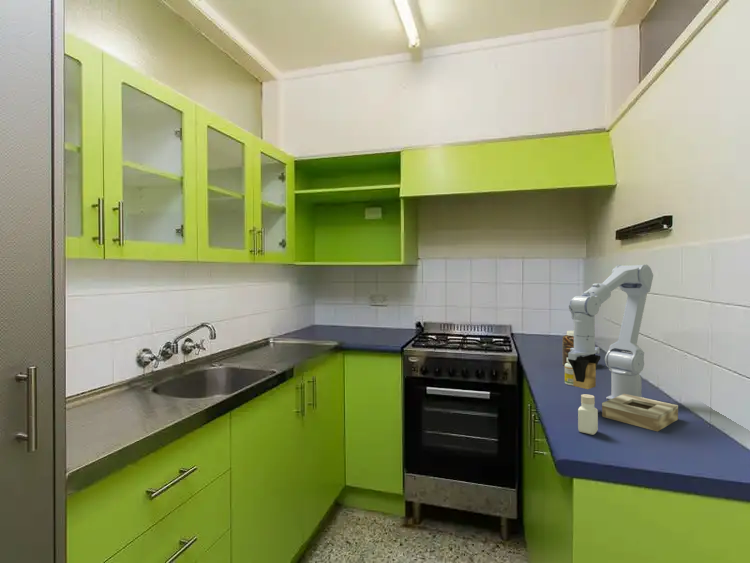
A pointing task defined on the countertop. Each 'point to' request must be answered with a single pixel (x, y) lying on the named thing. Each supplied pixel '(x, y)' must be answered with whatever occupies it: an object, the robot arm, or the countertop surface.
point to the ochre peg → (587, 377)
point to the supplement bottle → (568, 373)
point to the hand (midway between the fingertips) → (584, 380)
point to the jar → (567, 345)
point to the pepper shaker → (587, 415)
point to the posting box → (640, 411)
